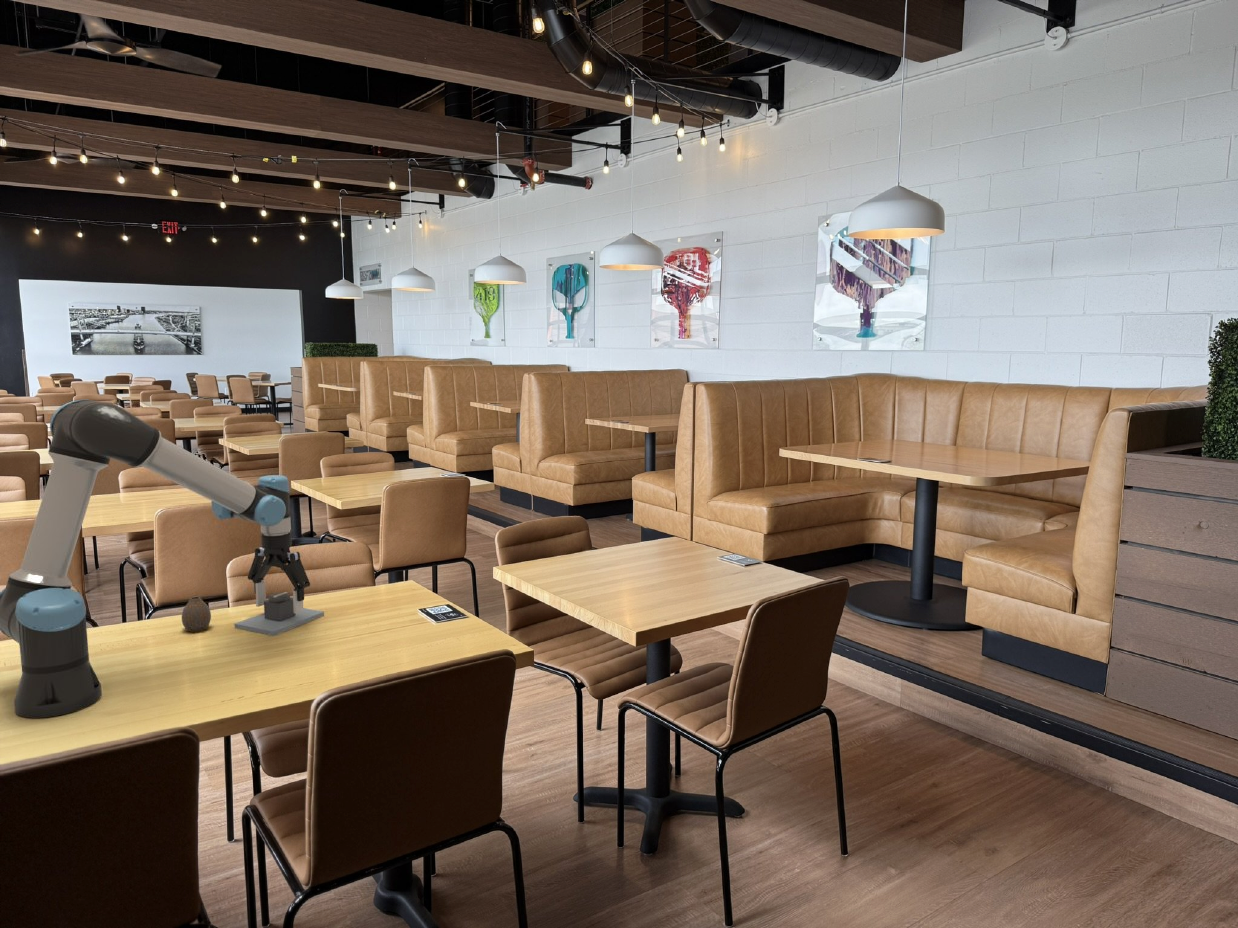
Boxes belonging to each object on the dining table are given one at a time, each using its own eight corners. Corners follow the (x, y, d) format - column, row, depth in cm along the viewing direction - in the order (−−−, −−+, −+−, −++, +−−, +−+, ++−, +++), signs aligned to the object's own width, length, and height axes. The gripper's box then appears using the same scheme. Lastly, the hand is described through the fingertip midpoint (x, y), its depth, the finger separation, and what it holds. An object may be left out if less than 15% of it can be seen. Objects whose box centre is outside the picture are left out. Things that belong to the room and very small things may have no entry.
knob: (280, 621, 220) (278, 598, 219) (264, 618, 222) (263, 595, 222) (295, 615, 225) (294, 593, 224) (280, 612, 227) (279, 590, 227)
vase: (203, 634, 214) (201, 601, 212) (177, 633, 214) (175, 601, 213) (216, 625, 221) (214, 593, 219) (191, 624, 221) (189, 593, 219)
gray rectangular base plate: (273, 635, 213) (272, 616, 212) (234, 627, 219) (233, 609, 218) (324, 615, 229) (323, 597, 229) (286, 608, 235) (285, 591, 234)
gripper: (321, 534, 219) (324, 610, 222) (253, 525, 229) (257, 598, 232) (300, 540, 212) (304, 619, 215) (231, 530, 222) (235, 606, 225)
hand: (279, 608), depth 223 cm, fingers open, 13 cm apart
